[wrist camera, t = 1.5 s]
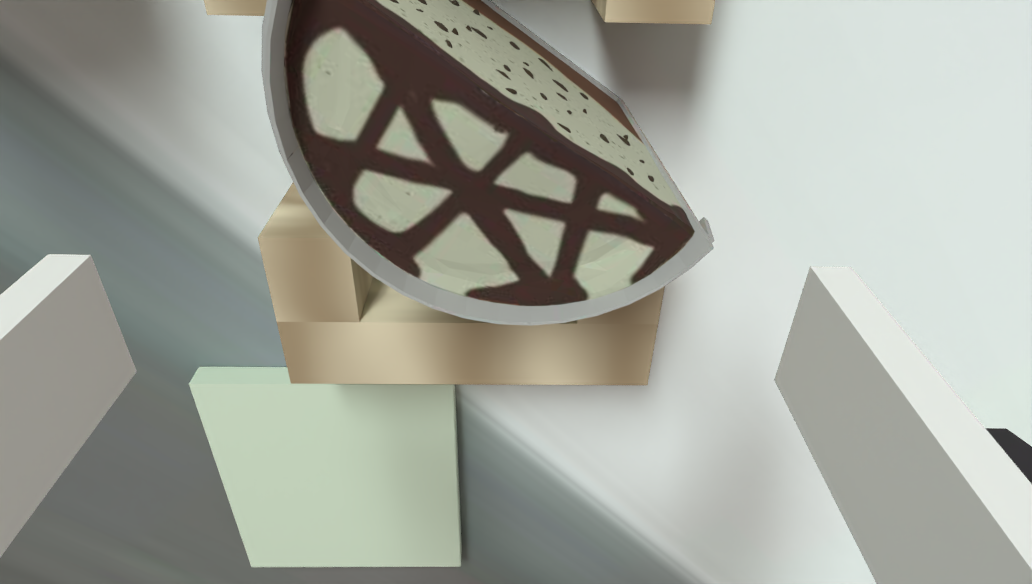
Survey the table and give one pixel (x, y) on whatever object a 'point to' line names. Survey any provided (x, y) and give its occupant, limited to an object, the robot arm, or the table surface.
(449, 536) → the coaster
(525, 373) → the frame
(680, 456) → the table surface
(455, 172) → the food container
